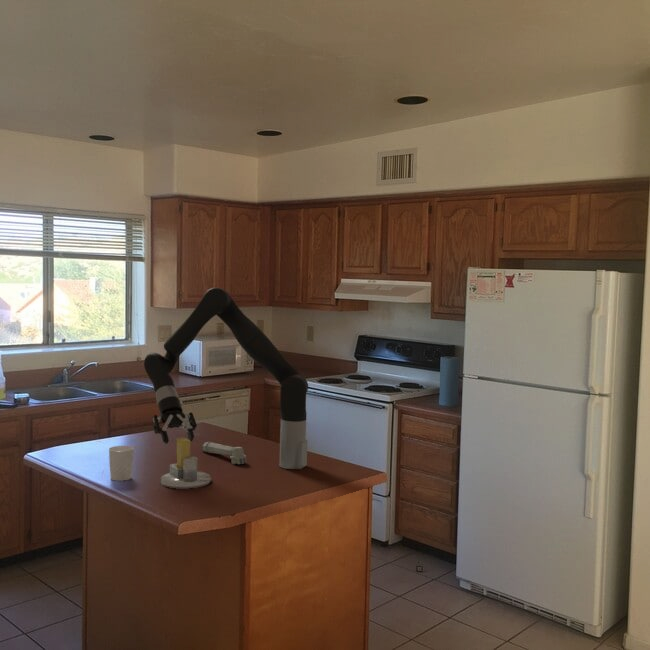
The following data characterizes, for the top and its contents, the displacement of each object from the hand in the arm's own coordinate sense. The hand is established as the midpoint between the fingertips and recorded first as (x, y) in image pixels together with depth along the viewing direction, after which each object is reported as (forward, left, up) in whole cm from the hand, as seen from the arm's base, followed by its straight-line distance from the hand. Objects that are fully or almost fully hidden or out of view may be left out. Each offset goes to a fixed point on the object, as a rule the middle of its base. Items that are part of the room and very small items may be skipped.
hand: (179, 441), depth 233 cm
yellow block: (-3, +2, -11) cm, 11 cm away
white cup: (+16, +9, -12) cm, 22 cm away
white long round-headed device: (-2, -29, -13) cm, 32 cm away
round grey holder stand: (-5, +4, -12) cm, 14 cm away
